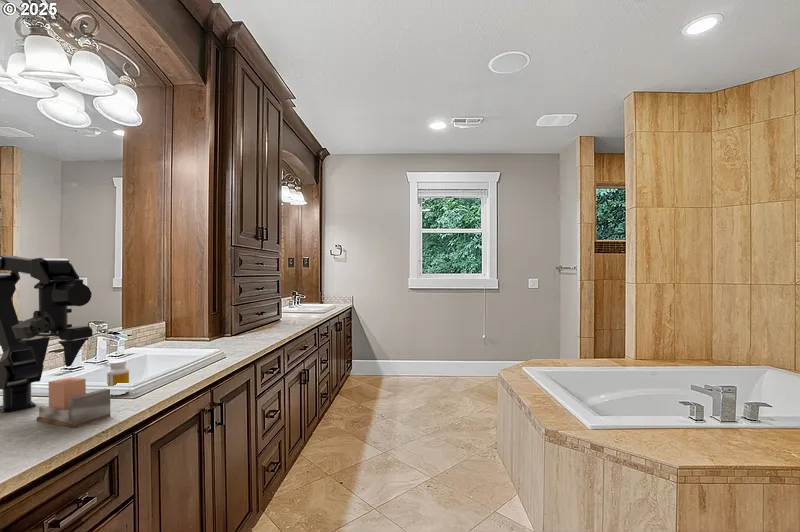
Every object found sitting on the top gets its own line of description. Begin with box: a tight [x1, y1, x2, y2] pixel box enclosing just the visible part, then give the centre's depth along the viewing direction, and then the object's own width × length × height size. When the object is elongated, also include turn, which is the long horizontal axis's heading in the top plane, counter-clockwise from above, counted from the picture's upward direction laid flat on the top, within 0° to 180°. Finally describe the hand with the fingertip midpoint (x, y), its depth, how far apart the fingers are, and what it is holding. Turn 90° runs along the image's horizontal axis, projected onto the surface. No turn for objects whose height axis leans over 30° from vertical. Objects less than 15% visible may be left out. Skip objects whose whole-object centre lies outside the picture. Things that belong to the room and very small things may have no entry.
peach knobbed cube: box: [48, 376, 87, 410], centre depth 105 cm, size 7×5×8 cm
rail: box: [36, 388, 111, 429], centre depth 104 cm, size 14×8×7 cm, turn 68°
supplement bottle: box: [106, 359, 130, 386], centre depth 124 cm, size 5×5×10 cm
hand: (54, 365), depth 108 cm, fingers open, 9 cm apart
